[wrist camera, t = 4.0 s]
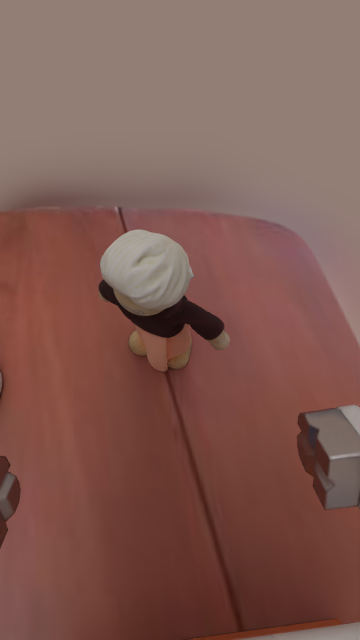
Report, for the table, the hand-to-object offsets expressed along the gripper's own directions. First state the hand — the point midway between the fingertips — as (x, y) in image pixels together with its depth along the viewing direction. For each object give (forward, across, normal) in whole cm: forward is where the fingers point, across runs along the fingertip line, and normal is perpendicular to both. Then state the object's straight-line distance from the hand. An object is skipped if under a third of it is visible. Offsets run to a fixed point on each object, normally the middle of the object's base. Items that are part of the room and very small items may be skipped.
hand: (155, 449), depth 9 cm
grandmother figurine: (+13, 0, +5) cm, 14 cm away
